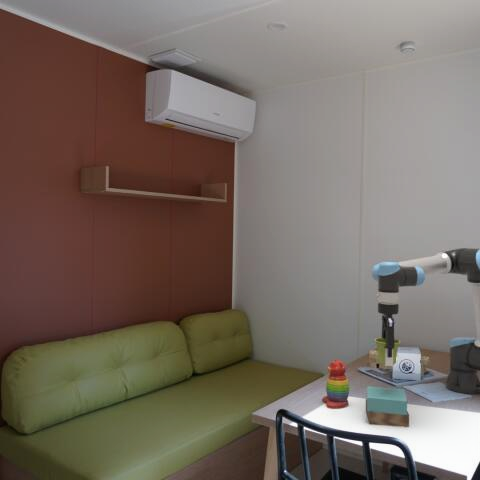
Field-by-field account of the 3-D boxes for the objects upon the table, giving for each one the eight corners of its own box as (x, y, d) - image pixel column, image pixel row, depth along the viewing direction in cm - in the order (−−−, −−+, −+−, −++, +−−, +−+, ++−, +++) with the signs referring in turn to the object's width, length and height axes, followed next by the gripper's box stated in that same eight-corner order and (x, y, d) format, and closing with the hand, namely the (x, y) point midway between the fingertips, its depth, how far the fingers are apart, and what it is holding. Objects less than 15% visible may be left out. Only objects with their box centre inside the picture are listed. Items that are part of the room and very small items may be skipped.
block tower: (367, 369, 258) (426, 376, 243) (367, 352, 258) (426, 359, 243) (372, 365, 265) (429, 372, 250) (371, 349, 265) (429, 355, 250)
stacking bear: (321, 399, 208) (321, 357, 208) (344, 399, 209) (345, 357, 208) (327, 408, 197) (328, 364, 197) (352, 408, 198) (353, 364, 198)
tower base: (402, 414, 194) (402, 401, 194) (408, 428, 180) (409, 414, 180) (365, 411, 196) (365, 399, 196) (369, 425, 182) (369, 411, 182)
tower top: (404, 402, 193) (404, 389, 193) (406, 415, 179) (407, 401, 179) (367, 398, 196) (367, 386, 196) (367, 411, 183) (367, 397, 183)
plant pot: (400, 361, 191) (400, 338, 191) (399, 367, 182) (400, 344, 182) (375, 358, 194) (375, 336, 194) (373, 365, 185) (374, 342, 185)
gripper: (374, 298, 198) (373, 354, 199) (381, 306, 178) (380, 369, 178) (393, 299, 197) (393, 355, 198) (403, 307, 177) (402, 370, 177)
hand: (387, 362), depth 188 cm, fingers closed on plant pot, 8 cm apart
